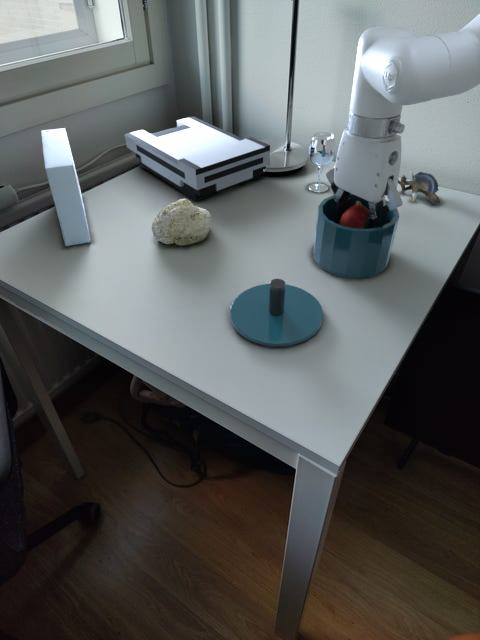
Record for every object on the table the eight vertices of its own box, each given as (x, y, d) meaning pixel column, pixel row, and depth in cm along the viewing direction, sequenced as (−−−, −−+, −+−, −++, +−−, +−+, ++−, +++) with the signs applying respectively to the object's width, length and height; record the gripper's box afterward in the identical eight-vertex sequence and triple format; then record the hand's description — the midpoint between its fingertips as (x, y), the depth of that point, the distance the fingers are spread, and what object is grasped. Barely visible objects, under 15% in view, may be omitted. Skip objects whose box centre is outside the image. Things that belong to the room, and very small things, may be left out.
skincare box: (94, 242, 91) (73, 164, 81) (65, 247, 90) (41, 169, 80) (83, 196, 106) (64, 125, 96) (58, 201, 105) (37, 129, 94)
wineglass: (313, 180, 111) (318, 129, 103) (335, 186, 108) (341, 134, 100) (301, 189, 107) (305, 137, 99) (323, 195, 105) (329, 142, 97)
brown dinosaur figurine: (392, 198, 101) (435, 200, 96) (399, 164, 100) (442, 165, 95) (401, 204, 107) (442, 207, 102) (408, 172, 106) (449, 174, 101)
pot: (403, 259, 85) (415, 212, 79) (353, 288, 79) (362, 240, 73) (347, 230, 93) (354, 186, 87) (298, 254, 87) (302, 208, 81)
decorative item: (182, 243, 83) (144, 207, 84) (177, 269, 91) (143, 236, 92) (228, 210, 88) (191, 178, 90) (219, 238, 96) (186, 207, 98)
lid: (341, 321, 73) (347, 287, 68) (271, 364, 66) (273, 329, 62) (279, 278, 81) (281, 246, 77) (212, 312, 75) (209, 279, 70)
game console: (194, 141, 131) (192, 111, 125) (269, 179, 112) (270, 145, 106) (129, 161, 121) (123, 129, 116) (198, 205, 102) (195, 169, 97)
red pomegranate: (371, 236, 85) (379, 196, 80) (367, 253, 81) (375, 211, 76) (339, 231, 86) (345, 191, 81) (334, 247, 82) (339, 206, 77)
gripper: (437, 133, 67) (409, 240, 78) (346, 105, 77) (334, 204, 89) (404, 145, 63) (380, 256, 75) (314, 115, 73) (306, 216, 85)
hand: (355, 227), depth 82 cm, fingers closed on red pomegranate, 6 cm apart
